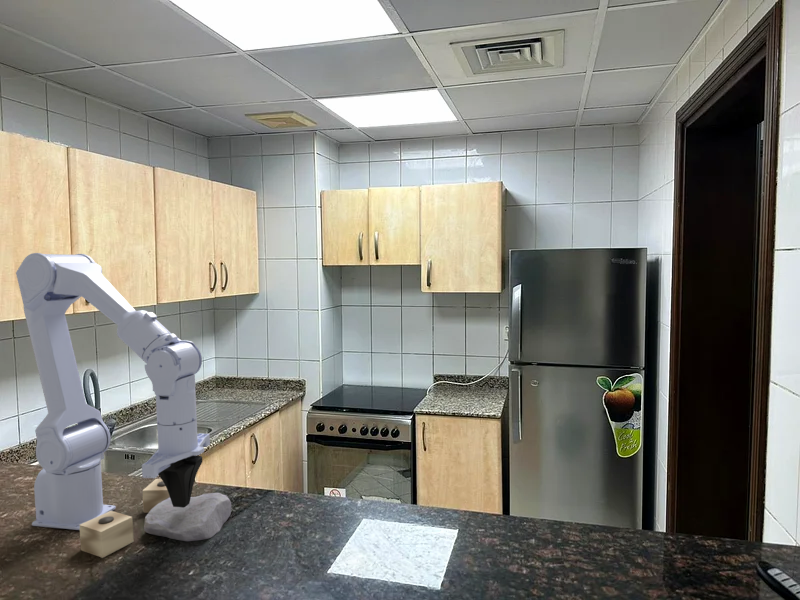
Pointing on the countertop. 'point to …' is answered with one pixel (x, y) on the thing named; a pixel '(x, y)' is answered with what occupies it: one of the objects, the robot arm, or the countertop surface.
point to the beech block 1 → (106, 533)
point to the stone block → (189, 518)
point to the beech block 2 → (154, 494)
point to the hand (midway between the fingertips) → (181, 505)
